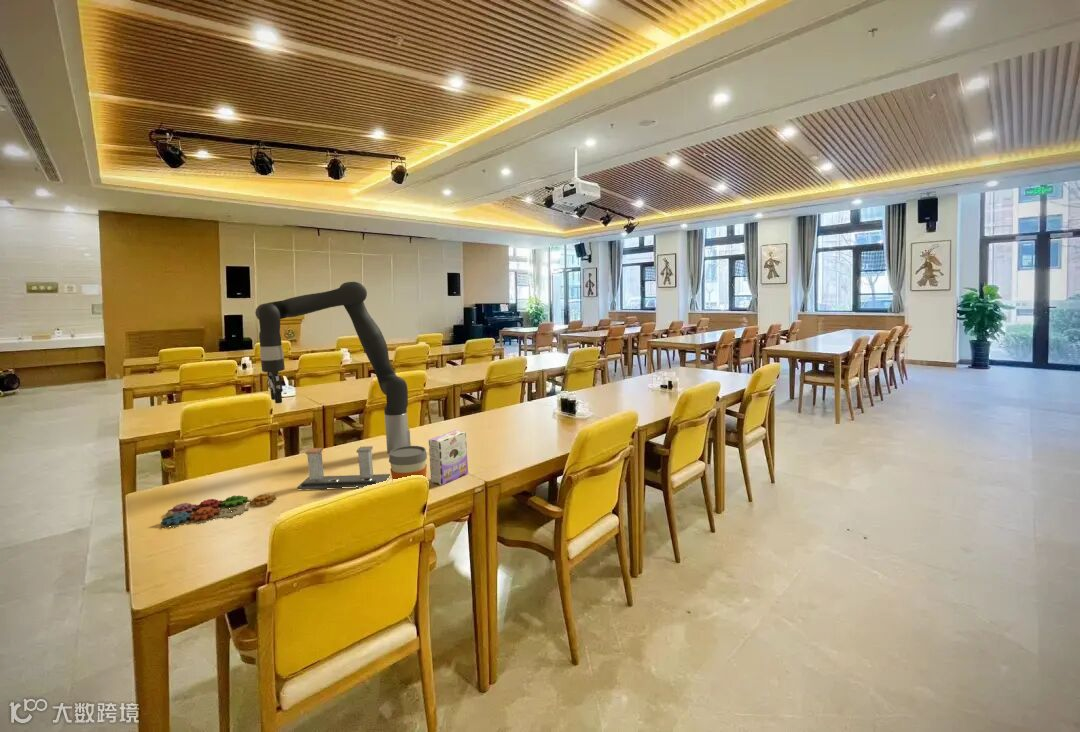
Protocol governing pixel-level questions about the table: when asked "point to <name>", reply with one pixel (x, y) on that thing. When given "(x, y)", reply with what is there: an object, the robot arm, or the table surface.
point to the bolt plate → (350, 480)
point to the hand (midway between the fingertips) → (276, 401)
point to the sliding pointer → (315, 464)
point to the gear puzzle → (211, 510)
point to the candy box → (448, 457)
